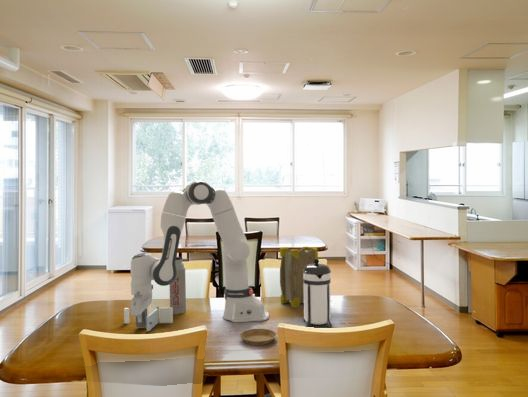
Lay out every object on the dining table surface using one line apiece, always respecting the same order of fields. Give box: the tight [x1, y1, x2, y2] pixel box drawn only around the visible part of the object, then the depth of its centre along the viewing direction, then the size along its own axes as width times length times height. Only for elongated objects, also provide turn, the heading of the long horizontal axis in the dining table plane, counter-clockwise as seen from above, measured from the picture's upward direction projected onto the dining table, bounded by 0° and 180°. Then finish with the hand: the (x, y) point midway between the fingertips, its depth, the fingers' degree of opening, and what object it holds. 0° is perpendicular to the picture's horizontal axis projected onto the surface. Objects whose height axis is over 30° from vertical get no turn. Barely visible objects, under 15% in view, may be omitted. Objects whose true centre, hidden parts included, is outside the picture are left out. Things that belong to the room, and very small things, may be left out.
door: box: [146, 308, 160, 332], centre depth 193 cm, size 12×2×6 cm, turn 174°
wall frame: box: [123, 306, 174, 324], centre depth 199 cm, size 22×1×8 cm, turn 89°
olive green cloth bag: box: [279, 246, 319, 308], centre depth 230 cm, size 20×11×30 cm, turn 125°
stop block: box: [135, 308, 148, 328], centre depth 192 cm, size 4×4×7 cm
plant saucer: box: [239, 328, 277, 346], centre depth 175 cm, size 15×15×3 cm
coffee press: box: [302, 258, 333, 328], centre depth 195 cm, size 17×16×30 cm
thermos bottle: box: [169, 256, 187, 315], centre depth 216 cm, size 8×8×28 cm
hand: (141, 319), depth 192 cm, fingers closed on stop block, 4 cm apart
